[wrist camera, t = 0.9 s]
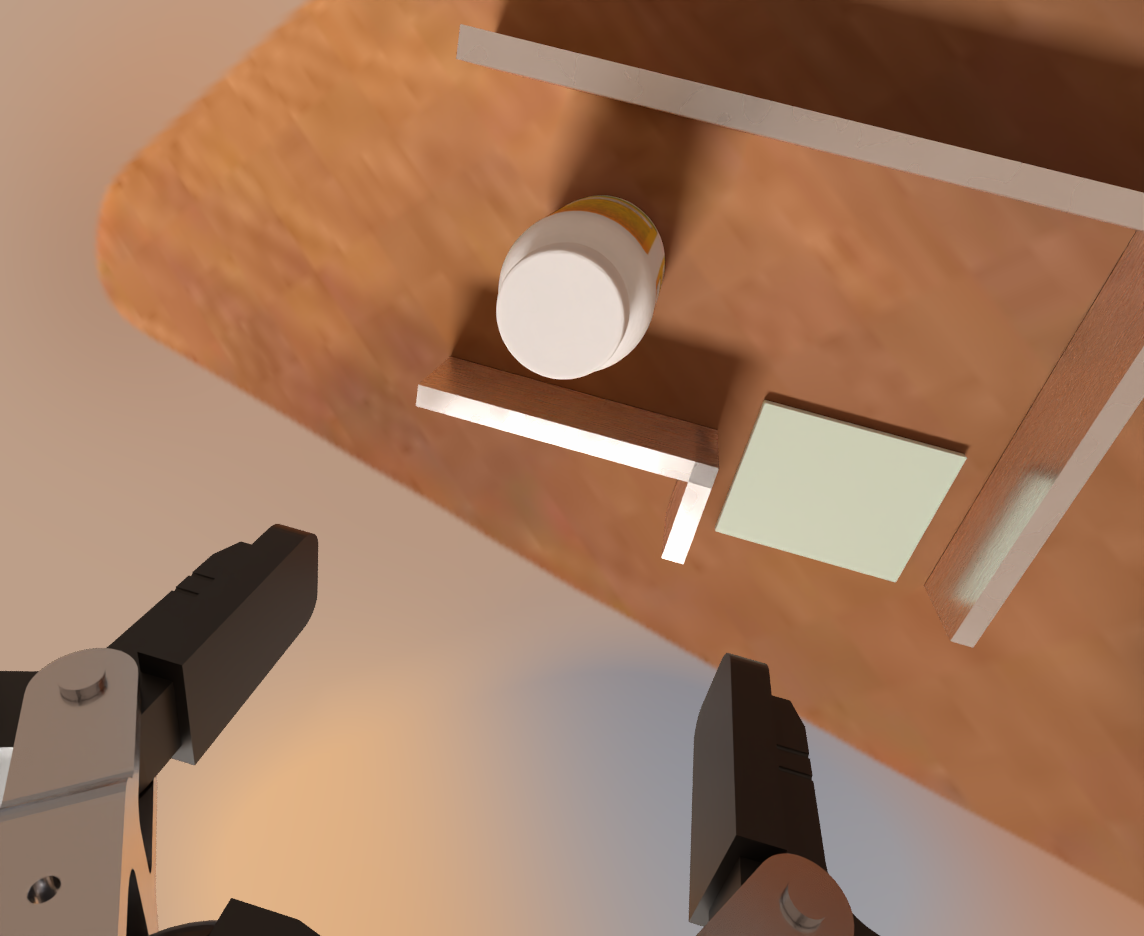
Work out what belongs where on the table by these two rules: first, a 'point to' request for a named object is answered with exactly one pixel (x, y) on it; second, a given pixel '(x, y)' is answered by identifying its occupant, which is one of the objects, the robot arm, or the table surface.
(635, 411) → the channel
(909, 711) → the table surface
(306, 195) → the table surface
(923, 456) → the pad
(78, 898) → the robot arm
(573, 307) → the supplement bottle
